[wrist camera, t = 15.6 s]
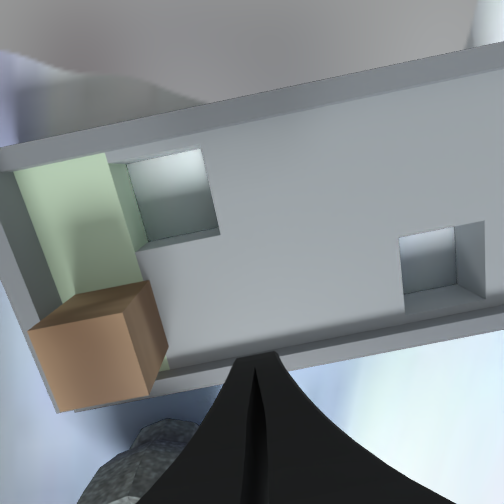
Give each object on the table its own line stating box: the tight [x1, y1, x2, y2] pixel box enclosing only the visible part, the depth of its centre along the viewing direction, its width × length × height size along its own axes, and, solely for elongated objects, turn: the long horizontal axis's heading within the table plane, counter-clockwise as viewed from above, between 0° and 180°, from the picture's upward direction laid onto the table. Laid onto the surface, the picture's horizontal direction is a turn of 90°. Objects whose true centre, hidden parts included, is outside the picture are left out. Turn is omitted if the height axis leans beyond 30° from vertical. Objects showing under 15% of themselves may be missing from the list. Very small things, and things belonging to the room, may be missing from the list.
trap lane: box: [0, 41, 504, 413], centre depth 17 cm, size 25×14×4 cm, turn 101°
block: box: [27, 280, 169, 412], centre depth 16 cm, size 4×4×4 cm
